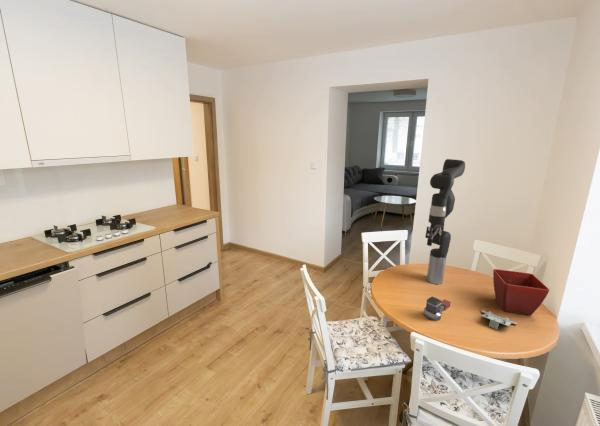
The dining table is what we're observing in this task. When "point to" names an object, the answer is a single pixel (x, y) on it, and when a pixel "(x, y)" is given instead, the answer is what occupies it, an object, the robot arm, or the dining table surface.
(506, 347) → the dining table surface
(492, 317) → the metal bracket
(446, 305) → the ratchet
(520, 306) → the plant pot
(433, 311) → the grey block
